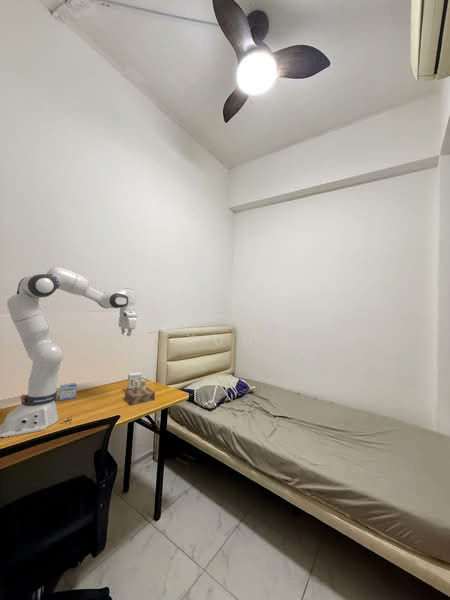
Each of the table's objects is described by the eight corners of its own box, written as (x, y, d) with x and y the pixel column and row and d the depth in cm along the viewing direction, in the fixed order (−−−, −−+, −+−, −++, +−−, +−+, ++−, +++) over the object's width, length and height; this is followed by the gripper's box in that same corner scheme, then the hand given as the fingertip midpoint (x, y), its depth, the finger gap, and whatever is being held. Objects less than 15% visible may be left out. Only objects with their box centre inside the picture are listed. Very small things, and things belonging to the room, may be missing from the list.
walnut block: (132, 406, 138) (132, 397, 138) (124, 399, 147) (125, 391, 147) (154, 400, 147) (154, 392, 148) (146, 394, 156) (146, 387, 156)
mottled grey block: (137, 394, 144) (138, 382, 144) (134, 391, 147) (135, 380, 148) (145, 392, 147) (146, 381, 147) (142, 389, 151) (142, 378, 151)
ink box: (128, 393, 157) (129, 375, 157) (126, 390, 161) (127, 373, 161) (141, 390, 162) (142, 373, 162) (139, 388, 166) (140, 371, 166)
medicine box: (60, 401, 139) (61, 386, 140) (59, 398, 143) (60, 384, 143) (75, 398, 144) (76, 384, 145) (74, 396, 148) (75, 382, 148)
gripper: (116, 312, 157) (115, 333, 157) (127, 314, 142) (126, 337, 142) (126, 313, 161) (125, 333, 161) (138, 314, 146) (137, 336, 146)
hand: (125, 335), depth 151 cm, fingers open, 8 cm apart
